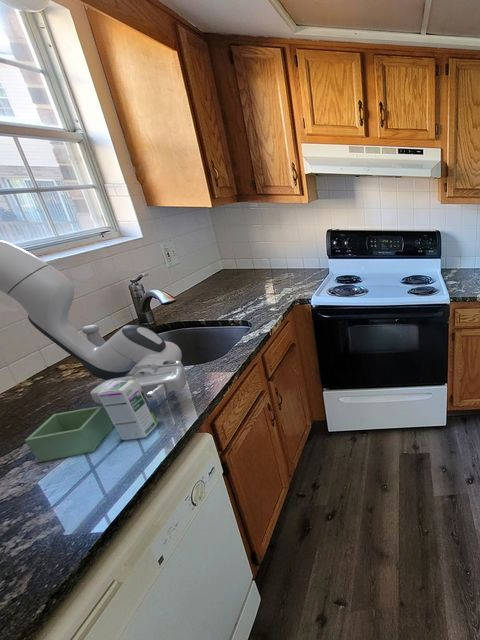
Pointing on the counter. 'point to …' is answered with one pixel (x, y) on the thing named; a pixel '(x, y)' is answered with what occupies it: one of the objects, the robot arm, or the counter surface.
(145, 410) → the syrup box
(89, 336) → the salt shaker
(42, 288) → the robot arm
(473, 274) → the counter surface
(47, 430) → the green open square box
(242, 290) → the counter surface
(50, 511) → the counter surface
